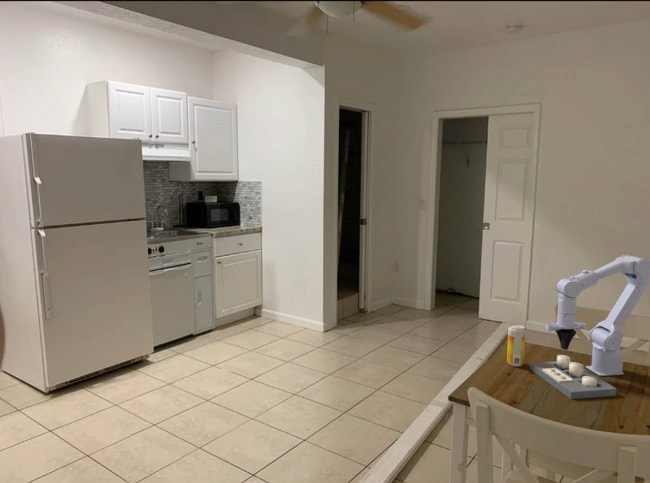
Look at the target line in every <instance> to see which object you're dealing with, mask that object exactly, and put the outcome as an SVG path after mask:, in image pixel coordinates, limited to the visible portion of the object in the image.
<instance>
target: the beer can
mask: <svg viewBox="0 0 650 483" xmlns="http://www.w3.org/2000/svg"><path fill="white" fill-rule="evenodd" d="M525 345H526V328H525V326H524V325H521V324H510V325H509V326H508V329H507V346H506V347H507V349H506V350H507V351H506V362H507V363H508V365H509V366H511V367H515V368H519V367H522V366H523V365H524V364H525V347H526V346H525Z"/></svg>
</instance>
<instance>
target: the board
mask: <svg viewBox="0 0 650 483" xmlns="http://www.w3.org/2000/svg"><path fill="white" fill-rule="evenodd" d="M571 362H573V361H570V363H571ZM547 368H556V369H558V370H559V371H561V372H562V373H564V374H565V375H567V376H568V377H570V378H571V379H573V382H560V383H559V382H558V381H556V380H555V379H554V378H552V377H551V376H549V375H548V374H546V373H545V372H544V371H542V369H547ZM530 369H531V371H532V372H533V373H534V374H536V375H537V376H539V377H540V378H541V379H543V380H544V381H546V382H547V383H548V384H550V385H551V386H552V387H554V388H555V389H557V390H558V391H559V392H561V393H562V394H563V395H565V396H566V397H567V398H569V399H570V400H576V399H577V400H579V399H589V398H600V397H601V398H603V397H615V396H617V390H618V389H617V387H615V386H613V385H611V384H610V383H608V382H606V381H605V380H603V379H601V378H600V377H598V376H597V375H595V374H593V373H591V372H590V371H588V370H586V369H585V368H583V376H591V377H594V378H596V379H597V387H586V386H585V385H583V384H582V377H581V378H576V377H572V376H570V375H569V369H567V370H565V369H564V370H562V369H560V368H558V367H557V360H555V361H539V362H538V361H537V362H529V370H530Z"/></svg>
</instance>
